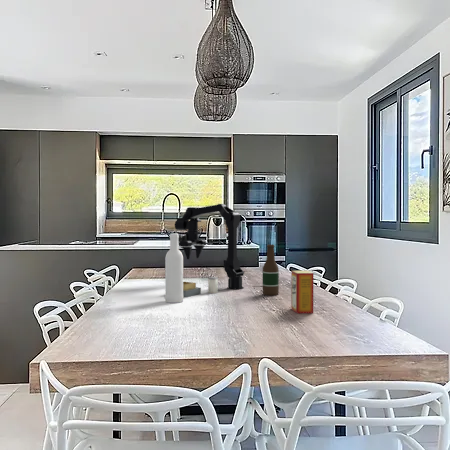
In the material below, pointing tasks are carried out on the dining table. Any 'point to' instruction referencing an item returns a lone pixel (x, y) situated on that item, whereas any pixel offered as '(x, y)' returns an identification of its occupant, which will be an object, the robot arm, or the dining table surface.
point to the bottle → (174, 272)
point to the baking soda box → (302, 291)
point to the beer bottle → (270, 274)
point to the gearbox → (190, 289)
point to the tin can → (212, 285)
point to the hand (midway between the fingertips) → (192, 258)
